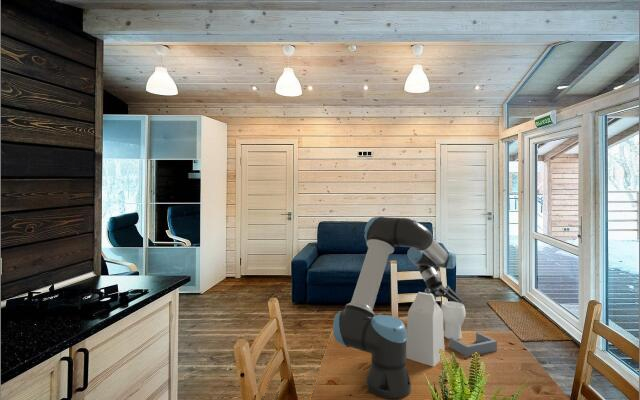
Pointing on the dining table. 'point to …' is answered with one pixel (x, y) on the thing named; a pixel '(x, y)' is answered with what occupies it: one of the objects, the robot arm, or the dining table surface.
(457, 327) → the cup
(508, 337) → the dining table surface
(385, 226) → the robot arm
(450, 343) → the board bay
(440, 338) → the milk
